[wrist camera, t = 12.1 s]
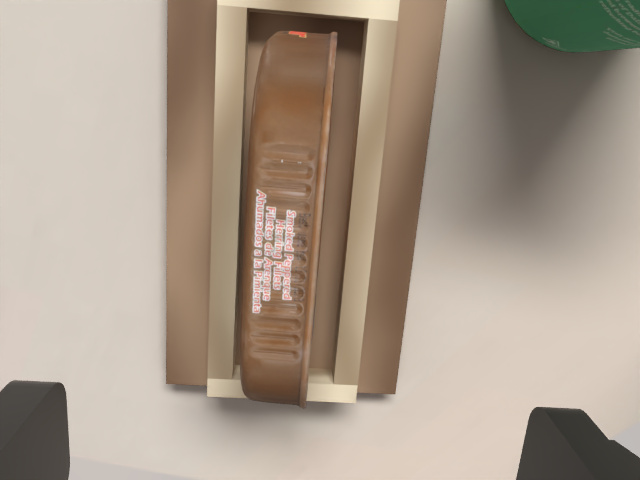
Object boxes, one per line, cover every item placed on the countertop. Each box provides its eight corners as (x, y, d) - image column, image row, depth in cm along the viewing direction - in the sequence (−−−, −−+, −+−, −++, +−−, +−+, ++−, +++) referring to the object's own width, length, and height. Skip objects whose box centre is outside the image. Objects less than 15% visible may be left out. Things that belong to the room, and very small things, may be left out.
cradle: (440, 0, 26) (456, -8, 23) (391, 382, 31) (400, 410, 28) (173, -24, 25) (159, -36, 22) (171, 372, 30) (159, 399, 28)
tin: (311, 349, 29) (317, 455, 21) (249, 345, 29) (232, 451, 20) (338, 40, 25) (359, 22, 17) (266, 34, 24) (253, 12, 16)
